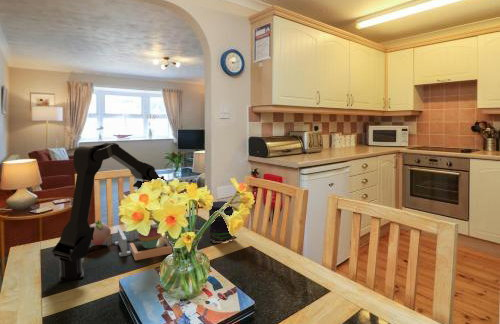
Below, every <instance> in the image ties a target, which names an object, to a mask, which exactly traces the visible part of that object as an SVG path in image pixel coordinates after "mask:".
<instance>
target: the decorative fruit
mask: <svg viewBox="0 0 500 324" xmlns="http://www.w3.org/2000/svg"><path fill="white" fill-rule="evenodd" d="M89 225H90V226H92V227H94V233H93V240H91V244H93V245H96V246H101V245H103V244H105V243H106V242H107V241H108V240H109V238H110V236H111V233H112V232H111V228H110V226H109V225H107V224H106V223H104V222H103V221H101V220H95V222H94V223H92V224H89Z"/></svg>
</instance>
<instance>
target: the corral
mask: <svg viewBox="0 0 500 324" xmlns="http://www.w3.org/2000/svg"><path fill="white" fill-rule="evenodd" d="M164 240H165V241H164V242H165V245H166V246H163V247H156V248H149V249H145V250H141V251H138V249H137V247H136V245H135V244H134V243H133V242H130V243H129V251H130V252H131V255H132V257H133V258H134V261H139V260H144V259H148V258H155V257H159V256H164V255H168V254H169V255H171V254H173V253H172V247H171V246H170V244H169V243H168V241H167V240H166V239H165V238H164Z"/></svg>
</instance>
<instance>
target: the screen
mask: <svg viewBox="0 0 500 324" xmlns="http://www.w3.org/2000/svg"><path fill="white" fill-rule="evenodd" d="M114 245H115V246H119V248H120V252H119V253H118V255H119V257H126V256H130V255H132V253H131V251H130V250H128V239H127V237H126V234H125V233H124V231H123V229H122V228H121V227H120V228H119V227H118V228H117V241H115V242H114Z"/></svg>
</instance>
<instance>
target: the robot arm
mask: <svg viewBox="0 0 500 324" xmlns="http://www.w3.org/2000/svg"><path fill="white" fill-rule="evenodd" d="M110 158H112V159H114V161H116V162H118V163H119V164H121V165H122V166H123V167H124V168H126V169H128V170H129V171H130V174H131V175H132V176H133V177H134V178H135V179H137V180H136V181H135V183H133V185H132V187H134V188H137V190H138V189H139V188H140V187H141V185H142V183H144V182H149V181H151V180H152V179H157V178H161V179H163V180H165V181H167V180H166V179H165V176H164V175H158V173H157V171H156V167H155V166H154V165H151V164H149V163H146V162H143V161H140V160H138V159H137V158H136V157H135V156H133V155H132V154H130V153H129V152H127V151H126V150H125V149H123V148H122V147H121V146H120V145H119V144H118V143H117V142H104V143H101V144H98V145H91V146H83V145H81V146H78V147H77V148H76V149H75V150H74V152H73V167H74V170H75V171H76V179H75V185H74V191H73V198H72V203H71V210H70V216H69V221H68V222H67V223H66V225H64V227H63V229H62V232H61V235H60V238H59V241H58V242H57V243H56V245H55V246H54V248H53V249H52V250H51V254H52V255H53V257H55V258H58V259H59V273H58V283H65V282H69V281H73V280H79V279H82V278H84V277H85V274H84V273H85V272H84V267H83V265H82V264H83V263H82V262H83V261H82V259H83V258H86V257H87V256H88V252H89V249H90V246H91V244H92V243H91V240H93V233H94V227H92V226H90V225H91V224H89V223H90V222H89V216H90V209H91V203H92V196H93V190H94V183H95V177H96V175H97V173H98V172H99V170H100V169H101V168H102V165H103V161H106V160H108V159H110Z"/></svg>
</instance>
